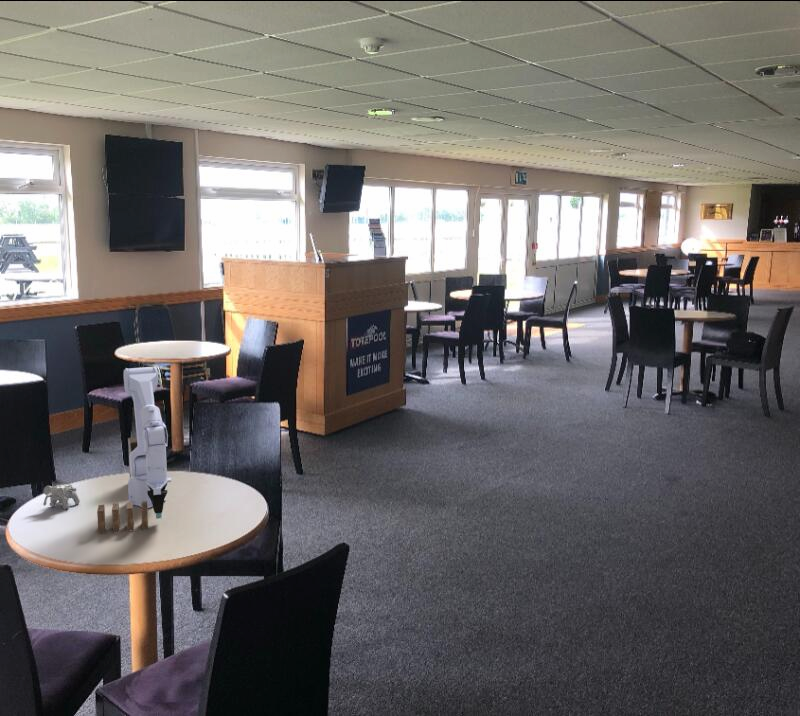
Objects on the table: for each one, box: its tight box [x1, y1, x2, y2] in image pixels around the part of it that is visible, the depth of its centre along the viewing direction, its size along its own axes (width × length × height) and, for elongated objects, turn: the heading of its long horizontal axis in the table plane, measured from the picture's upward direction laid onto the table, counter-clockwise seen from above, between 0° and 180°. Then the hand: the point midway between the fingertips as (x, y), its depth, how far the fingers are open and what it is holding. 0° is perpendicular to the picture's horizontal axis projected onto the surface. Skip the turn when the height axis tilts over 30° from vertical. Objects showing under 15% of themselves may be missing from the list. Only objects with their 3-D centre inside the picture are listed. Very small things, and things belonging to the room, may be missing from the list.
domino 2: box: [111, 502, 121, 533], centre depth 223 cm, size 2×5×7 cm, turn 17°
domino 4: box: [140, 501, 149, 530], centre depth 225 cm, size 2×5×7 cm, turn 17°
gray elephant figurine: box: [43, 483, 81, 510], centre depth 237 cm, size 9×12×8 cm
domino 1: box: [96, 504, 107, 535], centre depth 222 cm, size 2×5×7 cm, turn 17°
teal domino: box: [155, 512, 163, 520], centre depth 226 cm, size 2×5×7 cm, turn 17°
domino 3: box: [126, 501, 135, 532], centre depth 224 cm, size 2×5×7 cm, turn 17°
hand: (158, 509), depth 226 cm, fingers closed on teal domino, 5 cm apart
